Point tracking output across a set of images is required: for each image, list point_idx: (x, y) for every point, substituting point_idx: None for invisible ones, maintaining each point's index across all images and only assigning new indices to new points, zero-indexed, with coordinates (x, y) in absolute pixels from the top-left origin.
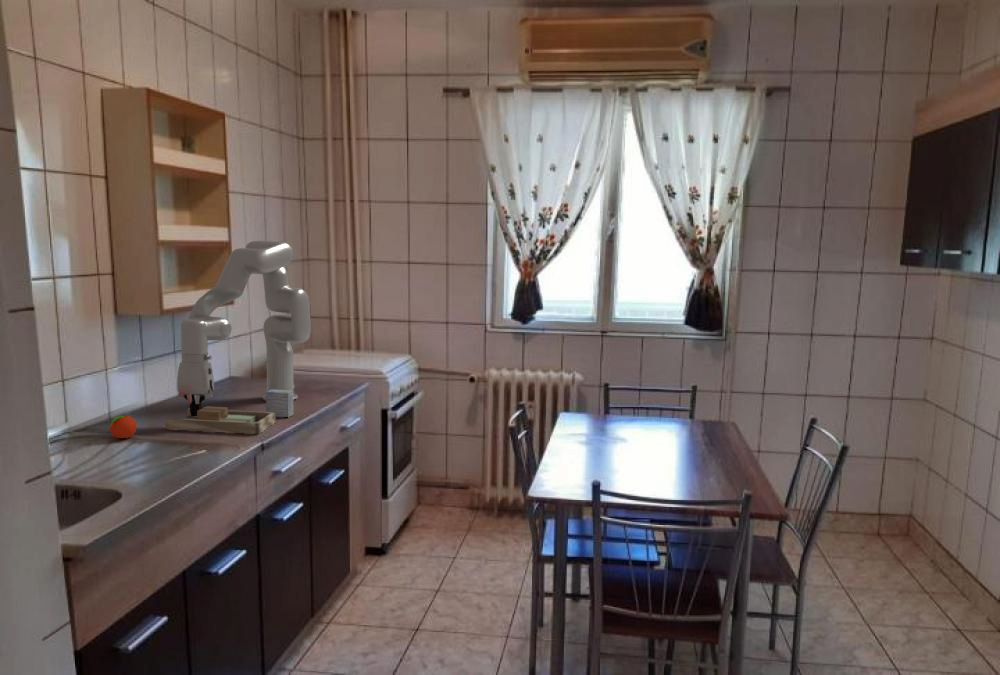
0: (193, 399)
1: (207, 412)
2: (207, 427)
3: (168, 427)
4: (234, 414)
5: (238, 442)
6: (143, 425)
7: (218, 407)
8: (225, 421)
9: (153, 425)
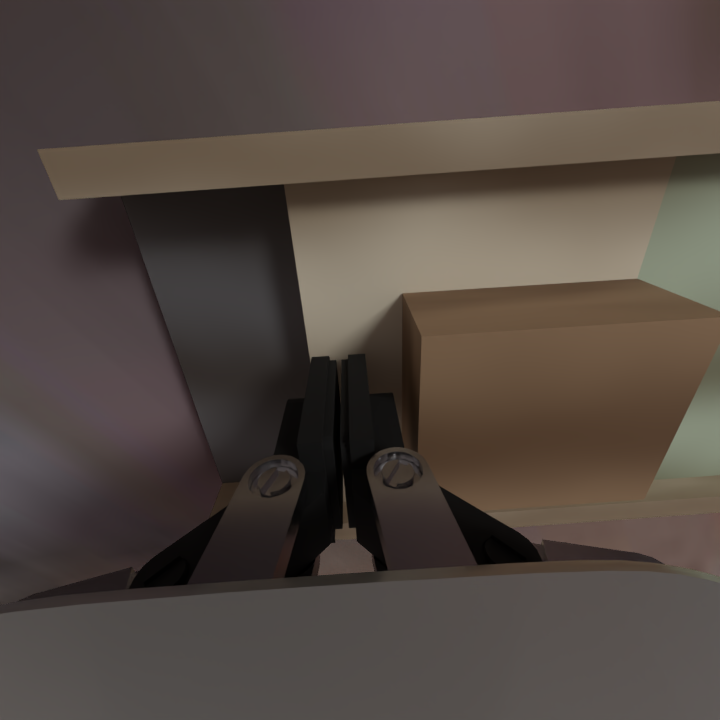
0: (299, 536)
1: (519, 498)
2: None
3: None
4: (706, 166)
5: (702, 548)
6: (5, 438)
7: (603, 350)
8: (670, 508)
9: (65, 423)
